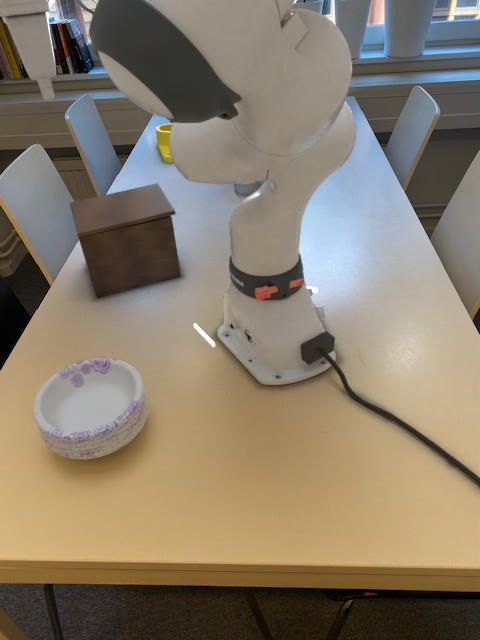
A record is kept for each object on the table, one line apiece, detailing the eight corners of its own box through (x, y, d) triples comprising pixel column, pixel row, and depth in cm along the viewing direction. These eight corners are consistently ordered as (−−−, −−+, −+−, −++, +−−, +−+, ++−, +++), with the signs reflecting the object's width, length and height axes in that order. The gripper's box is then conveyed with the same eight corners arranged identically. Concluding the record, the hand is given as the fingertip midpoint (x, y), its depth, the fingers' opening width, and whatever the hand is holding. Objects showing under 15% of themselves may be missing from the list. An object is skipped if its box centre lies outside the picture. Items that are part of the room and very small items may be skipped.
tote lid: (158, 186, 103) (157, 183, 103) (175, 214, 93) (175, 210, 93) (70, 206, 99) (69, 202, 98) (78, 237, 89) (77, 233, 89)
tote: (165, 245, 112) (155, 189, 103) (181, 276, 102) (171, 217, 94) (87, 264, 108) (70, 206, 99) (96, 298, 98) (78, 238, 89)
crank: (158, 143, 163) (155, 124, 159) (183, 140, 163) (181, 122, 160) (158, 164, 149) (155, 144, 145) (185, 161, 150) (183, 141, 146)
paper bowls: (119, 375, 81) (109, 340, 76) (172, 430, 72) (164, 394, 67) (31, 427, 74) (13, 391, 69) (78, 495, 65) (61, 460, 60)
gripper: (-5, -13, 75) (25, 84, 83) (-6, 2, 60) (31, 119, 69) (37, -17, 76) (62, 79, 85) (47, -3, 61) (77, 111, 70)
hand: (48, 97), depth 77 cm, fingers closed
